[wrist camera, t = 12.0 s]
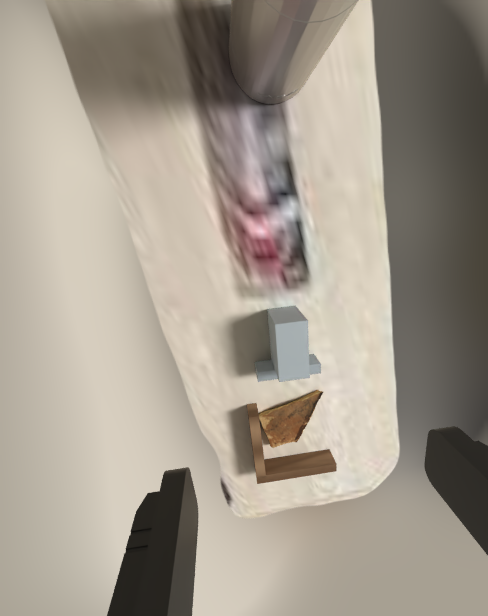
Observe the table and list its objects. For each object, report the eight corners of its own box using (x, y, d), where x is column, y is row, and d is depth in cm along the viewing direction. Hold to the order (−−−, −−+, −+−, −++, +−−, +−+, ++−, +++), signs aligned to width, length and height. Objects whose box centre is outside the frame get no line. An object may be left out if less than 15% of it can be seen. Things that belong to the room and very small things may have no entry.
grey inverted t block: (249, 311, 39) (254, 327, 34) (312, 303, 40) (328, 317, 34) (255, 370, 42) (261, 394, 37) (314, 362, 43) (328, 385, 37)
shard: (319, 386, 45) (323, 392, 43) (332, 422, 47) (336, 430, 45) (256, 409, 45) (257, 417, 43) (271, 444, 48) (273, 453, 46)
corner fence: (246, 404, 44) (248, 417, 41) (328, 392, 45) (335, 404, 42) (255, 468, 48) (257, 483, 45) (329, 456, 49) (336, 471, 46)
